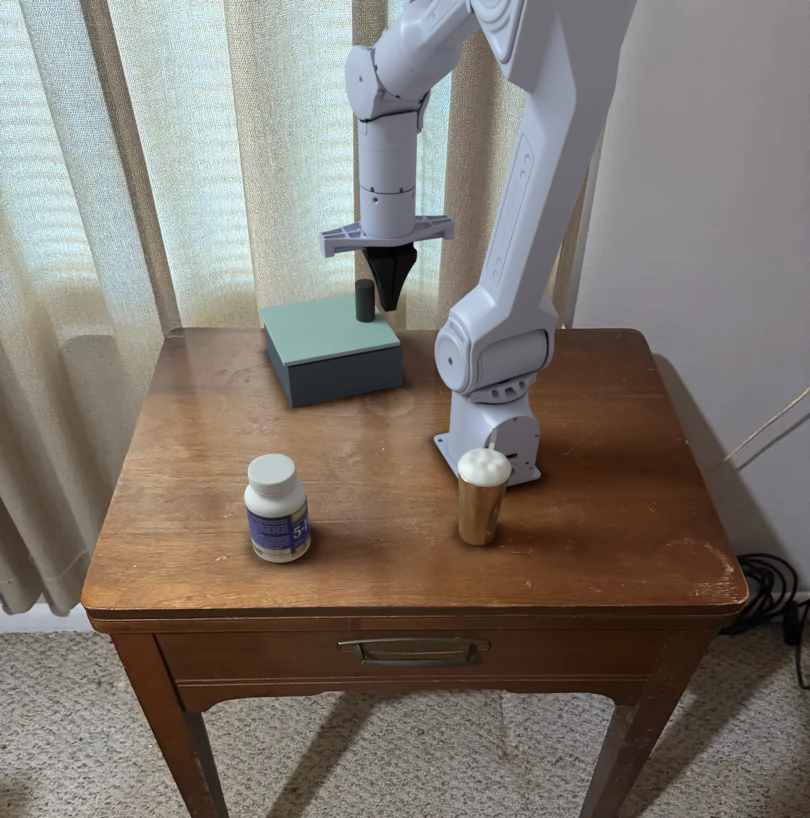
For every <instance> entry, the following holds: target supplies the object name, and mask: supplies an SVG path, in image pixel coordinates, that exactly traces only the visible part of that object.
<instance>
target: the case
mask: <svg viewBox="0 0 810 818" xmlns="http://www.w3.org/2000/svg"><path fill="white" fill-rule="evenodd" d="M263 328H264V335H265V336H264V337H265V343H266V351H267V354H268V357H269V358H270V361H271V363H272V365H273V367H274V370H275V373H276V374H277V377H278V379H279V380H280V384H281V386H282V388H283V391H284V392H285V394H286V397H287V399H288V401H289V403H290V407H291V408H296V407H301V406H306V405H313V404H316V403H322V402H327V401H332V400H336V399H341V398H347V397H351V396H357V395H361V394H362V395H363V394H368V393H371V392H376V391H381V390H382V391H383V390H386V389H387V390H388V389H392V388H397V387H401V386H403V374H404V373H403V371H404V369H403V366H404V364H403V363H404V347H403V345H402V344H401V343H400V345H399V346H394V347H388V348H383V349H377V350H372V351H366V352H361V353H356V354H350V355H345V356H339V357H334V358H329V359H323V360H318V361H312V362H307V363H302V364H296V365H291V366H285V367H284V365H283V363H282V361H281V358H280V356H279V354H278V352H277V350H276V348H275V345H274V343H273V341H272V339H271V337H270V335H269V332H268V330H267V328H266V326H265V324H264V323H263Z"/></svg>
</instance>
